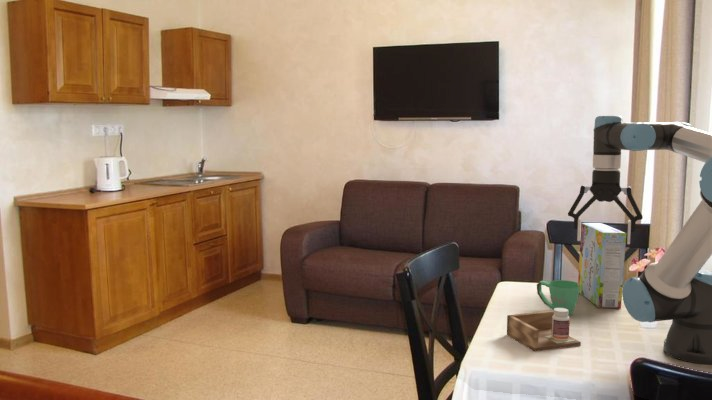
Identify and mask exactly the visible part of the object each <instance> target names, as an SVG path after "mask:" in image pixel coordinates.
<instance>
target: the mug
mask: <svg viewBox="0 0 712 400" xmlns="http://www.w3.org/2000/svg"><path fill="white" fill-rule="evenodd" d="M542 286H545V287H547V288H548V290H549V295H550V300H551V302H550V301H548V299H547V298H546V296H545V294H544V292H543V290H542ZM580 287H581V285H580V284H579V286H578V282H577V281H572V280H565V279H564V280H563V279H562V280H561V279H559V280H558V279H557V280H551V281H546V280H540V281H539V282H537V284H536V291H537V292H536V293H537V296H538V297H539V298H540V299H541V301H542V302H543V304H544V305H545V306H547V307H549V308H550V309H551V310H552V311H554V308H565V309H568V310H569V314H568V316H569V317H571V316H572V314H573V312H574V310H575V308H576V305H577V302H578V298H579V294H580V293H579V292H580Z"/></svg>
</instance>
